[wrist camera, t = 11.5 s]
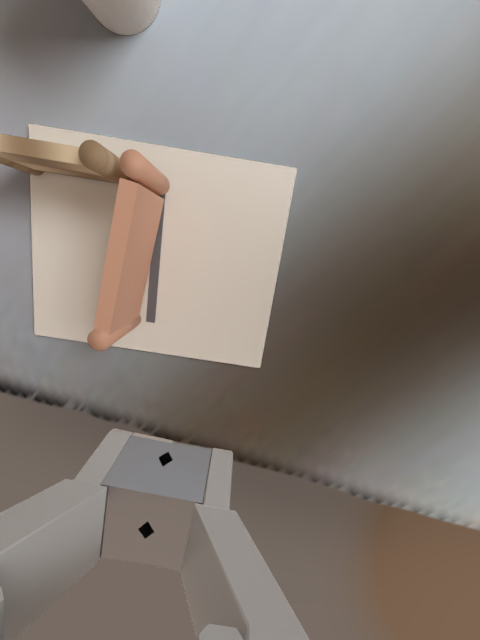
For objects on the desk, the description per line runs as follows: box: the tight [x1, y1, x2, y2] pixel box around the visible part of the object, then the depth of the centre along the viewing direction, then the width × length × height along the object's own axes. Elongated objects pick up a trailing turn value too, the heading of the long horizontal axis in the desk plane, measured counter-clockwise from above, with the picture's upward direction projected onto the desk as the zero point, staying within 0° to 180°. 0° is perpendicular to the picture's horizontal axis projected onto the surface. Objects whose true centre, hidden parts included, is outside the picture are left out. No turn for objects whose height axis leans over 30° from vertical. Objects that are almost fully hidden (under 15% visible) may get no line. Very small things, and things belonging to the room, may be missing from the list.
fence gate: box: [87, 149, 170, 351], centre depth 22 cm, size 14×2×6 cm, turn 163°
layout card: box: [29, 124, 297, 368], centre depth 25 cm, size 22×18×1 cm
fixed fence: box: [0, 134, 141, 185], centre depth 20 cm, size 10×2×7 cm, turn 81°
